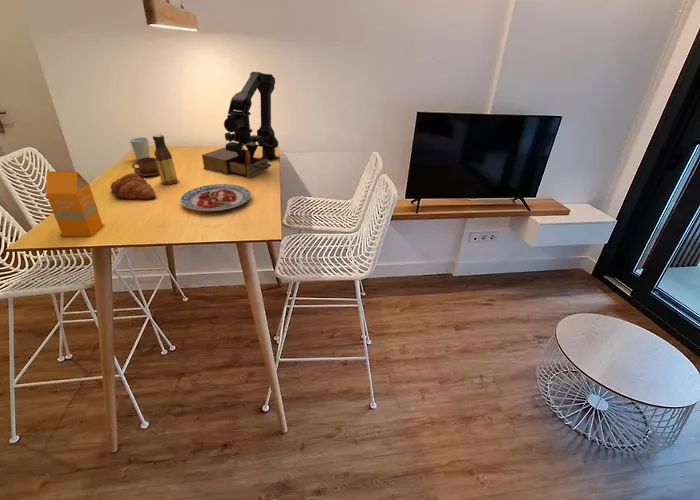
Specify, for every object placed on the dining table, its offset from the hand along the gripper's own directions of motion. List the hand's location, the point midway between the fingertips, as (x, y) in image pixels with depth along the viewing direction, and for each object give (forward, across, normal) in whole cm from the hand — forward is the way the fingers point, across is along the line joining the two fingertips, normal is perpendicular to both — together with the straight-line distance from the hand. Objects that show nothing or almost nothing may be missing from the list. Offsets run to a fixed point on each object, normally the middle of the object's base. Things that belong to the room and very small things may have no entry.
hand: (246, 162), depth 175 cm
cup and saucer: (+5, +25, -35) cm, 43 cm away
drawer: (+4, 0, +2) cm, 5 cm away
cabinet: (+5, 0, -13) cm, 14 cm away
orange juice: (+5, +72, -7) cm, 72 cm away
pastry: (+5, +44, -20) cm, 49 cm away
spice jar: (+3, 0, 0) cm, 3 cm away
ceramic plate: (+5, +32, +12) cm, 35 cm away
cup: (+5, +15, -52) cm, 54 cm away
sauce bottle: (+5, +28, -19) cm, 34 cm away
